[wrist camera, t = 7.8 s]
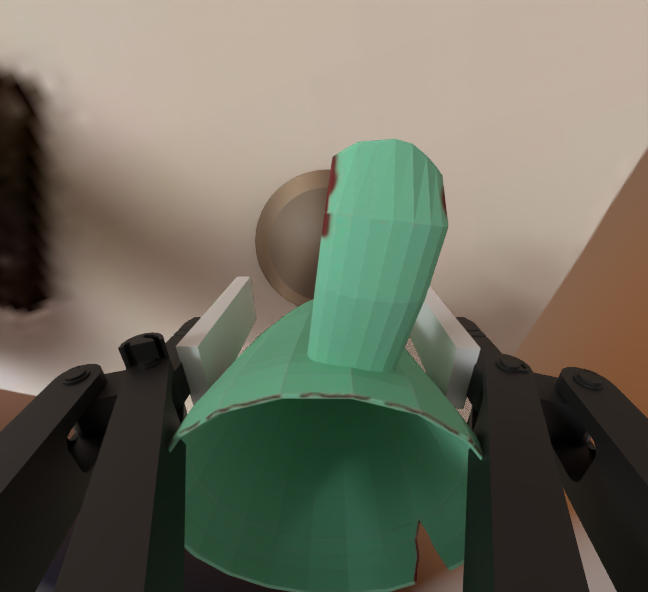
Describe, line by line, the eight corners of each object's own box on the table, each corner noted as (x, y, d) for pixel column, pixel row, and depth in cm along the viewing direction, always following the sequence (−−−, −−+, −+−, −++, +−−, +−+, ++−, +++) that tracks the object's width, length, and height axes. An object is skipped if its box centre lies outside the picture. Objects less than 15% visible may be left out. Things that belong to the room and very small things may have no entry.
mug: (389, 398, 19) (439, 608, 10) (249, 382, 19) (171, 581, 10) (461, 169, 13) (772, 176, 4) (251, 140, 12) (35, 69, 3)
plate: (265, 308, 28) (263, 313, 27) (248, 170, 23) (245, 170, 22) (391, 308, 28) (393, 313, 27) (406, 168, 22) (409, 168, 21)
